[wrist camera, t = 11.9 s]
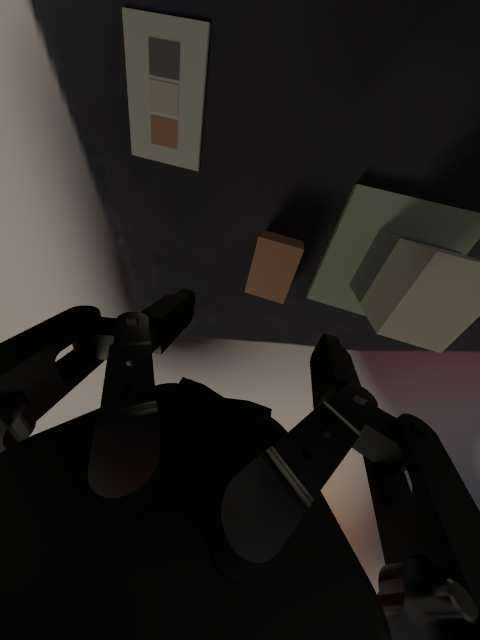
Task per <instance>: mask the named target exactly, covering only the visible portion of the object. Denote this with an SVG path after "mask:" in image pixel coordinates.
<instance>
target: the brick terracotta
mask: <svg viewBox="0 0 480 640" xmlns="http://www.w3.org/2000/svg"><path fill="white" fill-rule="evenodd" d="M303 252H304V243H303V241H301V240H297V239H294V238H290V237H287V236H283V235H279V234H276V233H272V232H269V231H265V232H263V233H262V234H261V235H260V236H259V238H258V241H257V245H256V249H255V253H254V257H253V261H252V265H251V269H250V273H249V277H248V281H247V285H246V289H245V292H246V293H249V294H252V295H256V296H259V297H262V298H265V299H268V300H271V301H275V302H278V303H281V304H284V301H285V298H286V296H287V293H288V291H289V288H290V285H291V283H292V280H293V278H294V275H295V272H296V270H297V267H298V265H299V262H300V260H301V257H302V254H303Z"/></svg>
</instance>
